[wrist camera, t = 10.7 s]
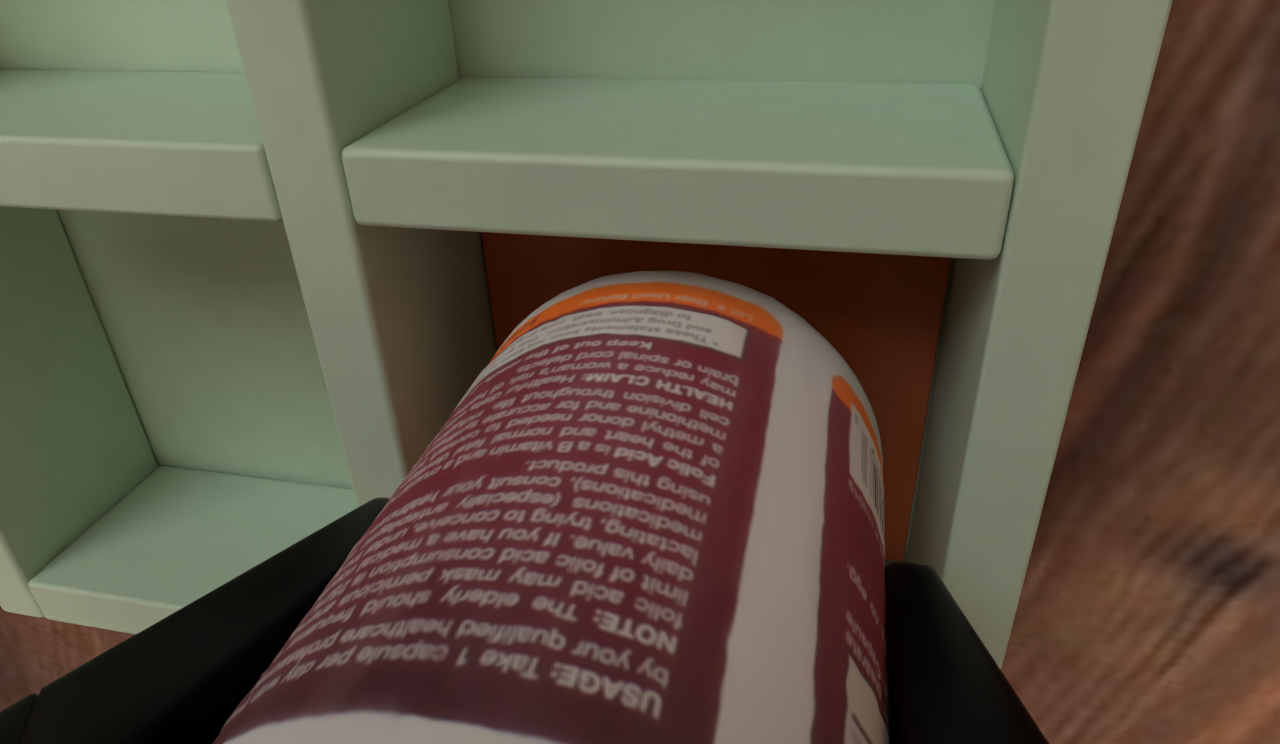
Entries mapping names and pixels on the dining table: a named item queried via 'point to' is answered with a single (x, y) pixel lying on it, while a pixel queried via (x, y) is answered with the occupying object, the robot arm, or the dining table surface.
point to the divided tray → (524, 247)
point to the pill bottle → (615, 545)
